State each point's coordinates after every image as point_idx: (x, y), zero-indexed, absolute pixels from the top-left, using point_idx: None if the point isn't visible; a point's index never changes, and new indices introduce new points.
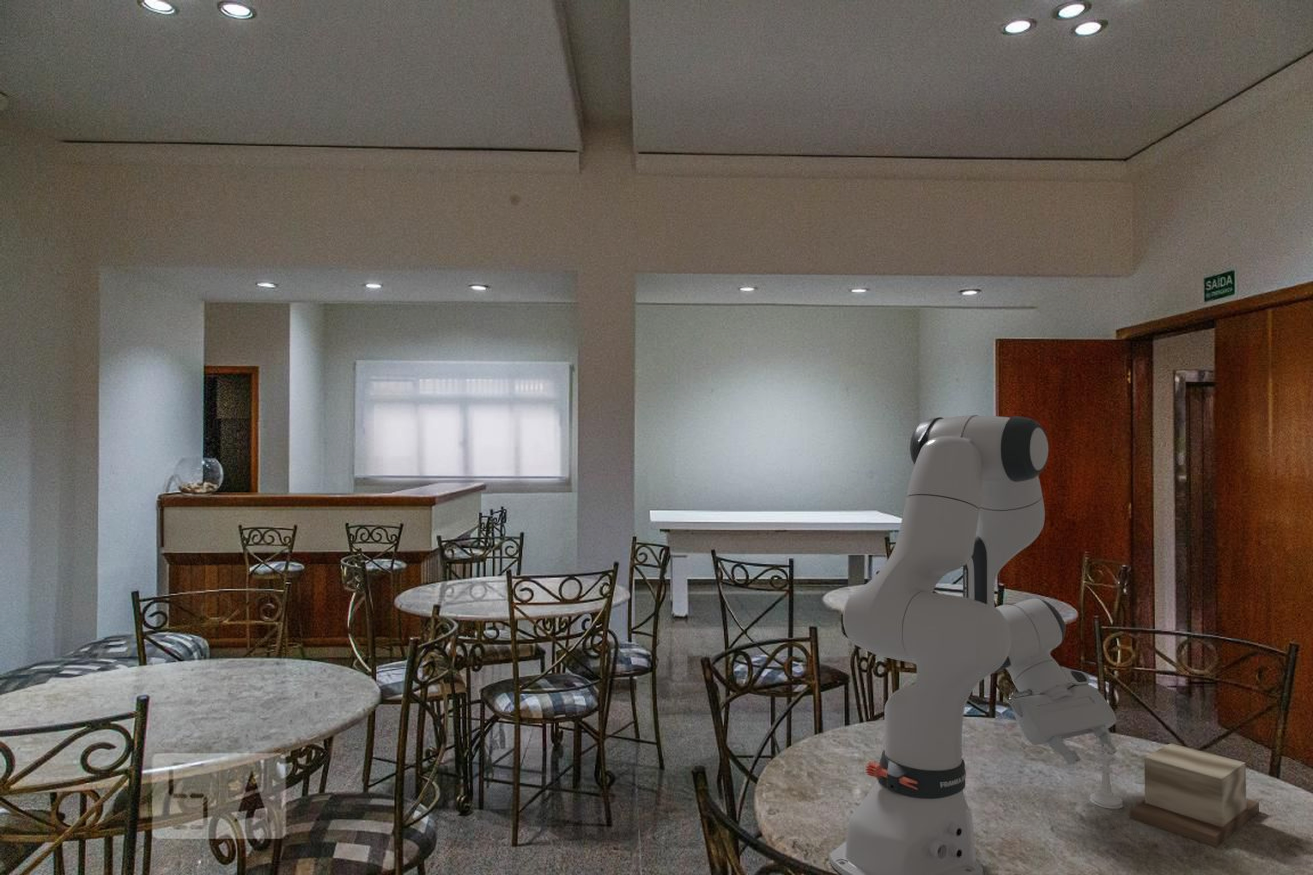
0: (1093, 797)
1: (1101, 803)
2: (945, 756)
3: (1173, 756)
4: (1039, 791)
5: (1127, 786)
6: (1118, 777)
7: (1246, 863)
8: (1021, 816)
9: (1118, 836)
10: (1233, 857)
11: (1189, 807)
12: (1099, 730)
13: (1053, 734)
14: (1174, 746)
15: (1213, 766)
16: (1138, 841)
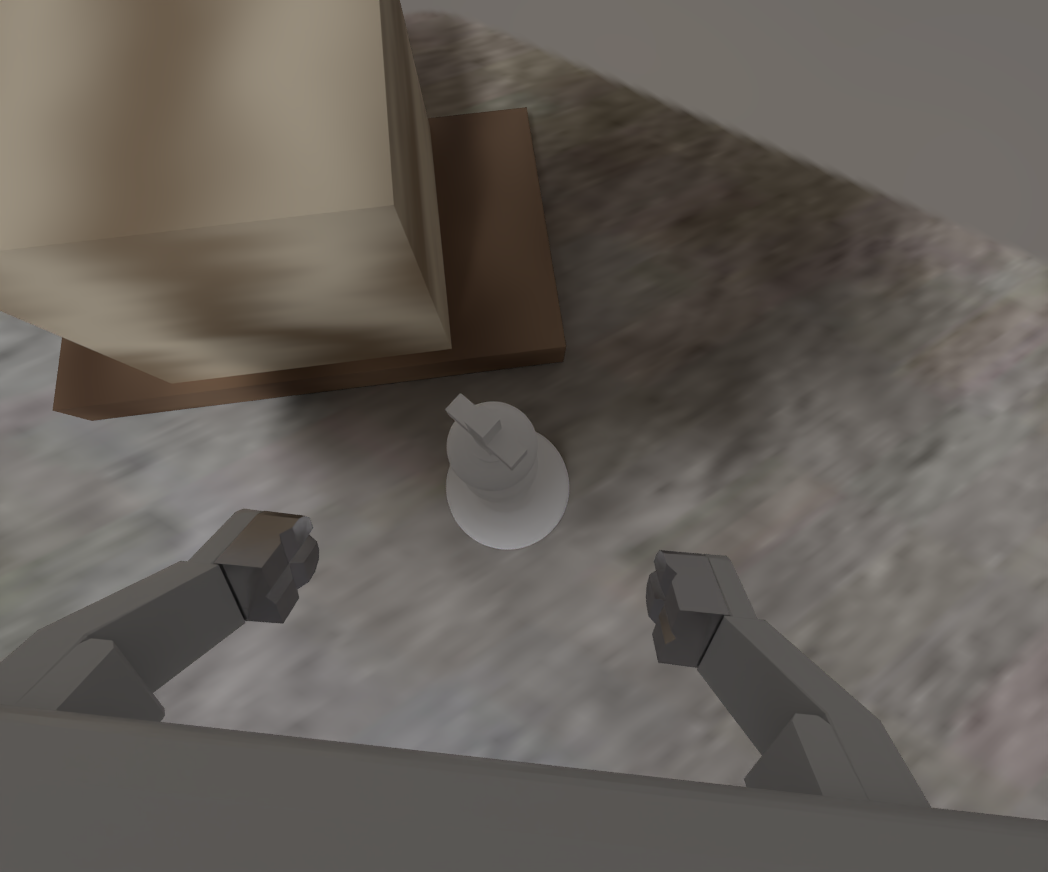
0: (554, 513)
1: (566, 470)
2: None
3: (201, 129)
4: (672, 722)
5: None
6: None
7: (554, 64)
8: (967, 587)
9: (742, 305)
10: (549, 91)
11: (430, 182)
12: (99, 706)
13: (1028, 823)
14: None
15: None
16: (712, 257)
